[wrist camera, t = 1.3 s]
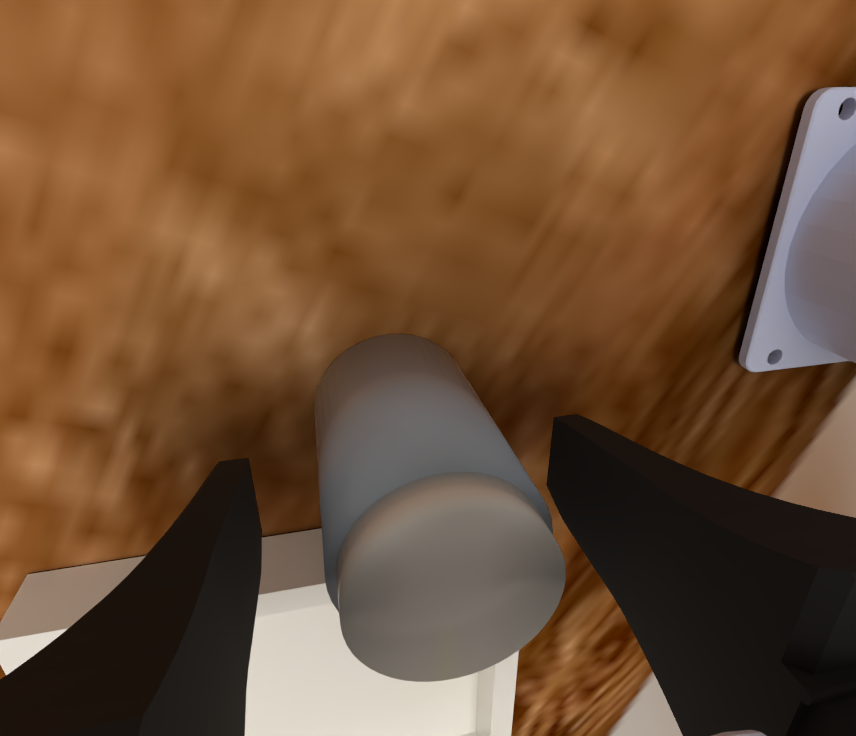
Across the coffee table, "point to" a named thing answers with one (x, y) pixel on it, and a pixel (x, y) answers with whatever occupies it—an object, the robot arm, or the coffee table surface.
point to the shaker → (427, 516)
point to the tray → (286, 654)
